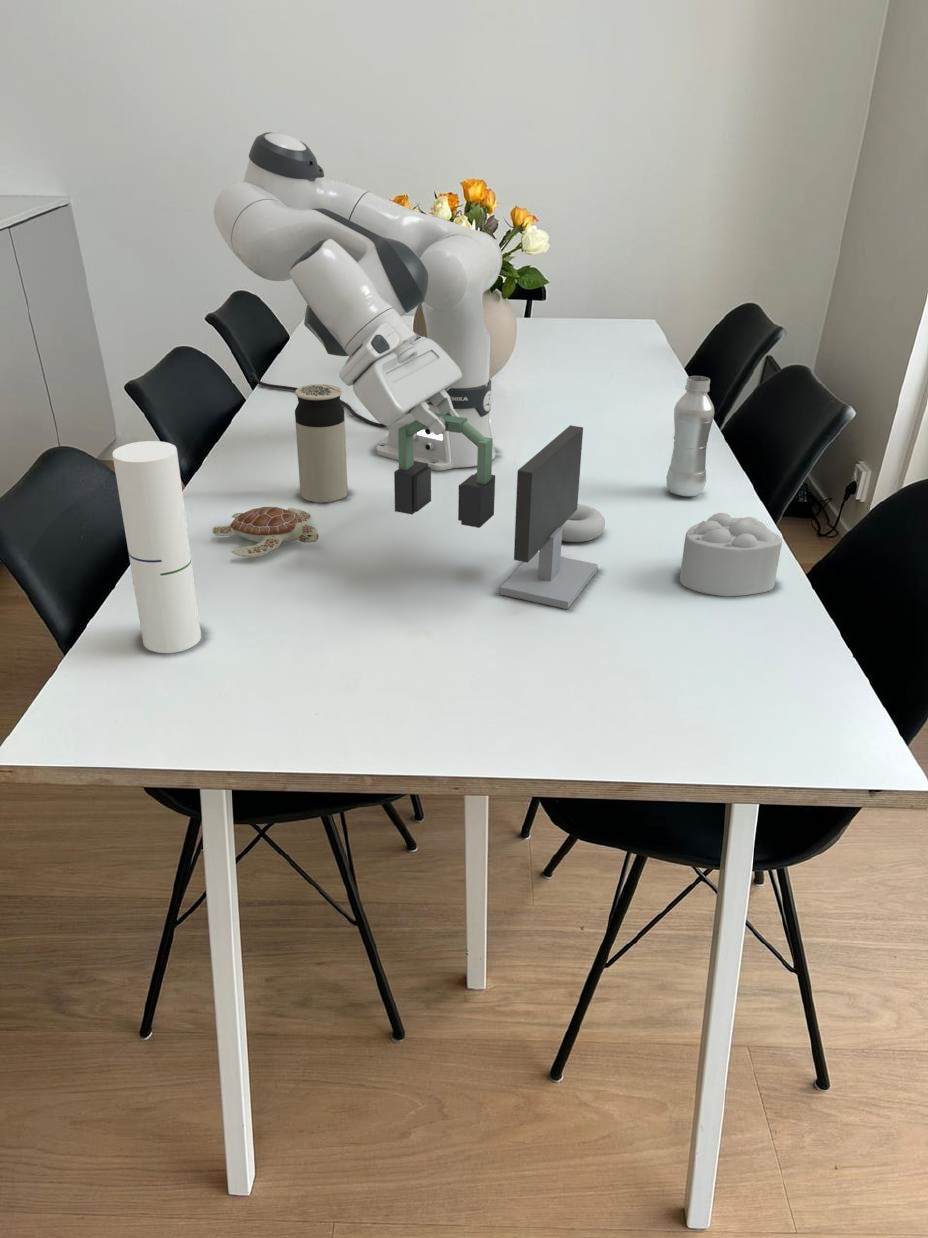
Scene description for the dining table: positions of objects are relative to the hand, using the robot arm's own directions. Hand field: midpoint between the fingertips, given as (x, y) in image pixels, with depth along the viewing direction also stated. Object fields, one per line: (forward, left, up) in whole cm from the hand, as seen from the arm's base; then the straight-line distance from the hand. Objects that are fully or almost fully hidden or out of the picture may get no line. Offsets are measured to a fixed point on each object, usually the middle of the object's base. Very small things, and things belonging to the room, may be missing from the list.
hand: (449, 427), depth 138 cm
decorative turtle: (-29, -3, -21) cm, 36 cm away
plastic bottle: (+24, +44, -21) cm, 55 cm away
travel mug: (-31, +16, -21) cm, 41 cm away
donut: (+12, +20, -21) cm, 32 cm away
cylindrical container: (-23, -34, -21) cm, 46 cm away
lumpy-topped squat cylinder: (+37, +14, -21) cm, 45 cm away
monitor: (+14, +2, -21) cm, 26 cm away
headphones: (-1, 0, -13) cm, 13 cm away
